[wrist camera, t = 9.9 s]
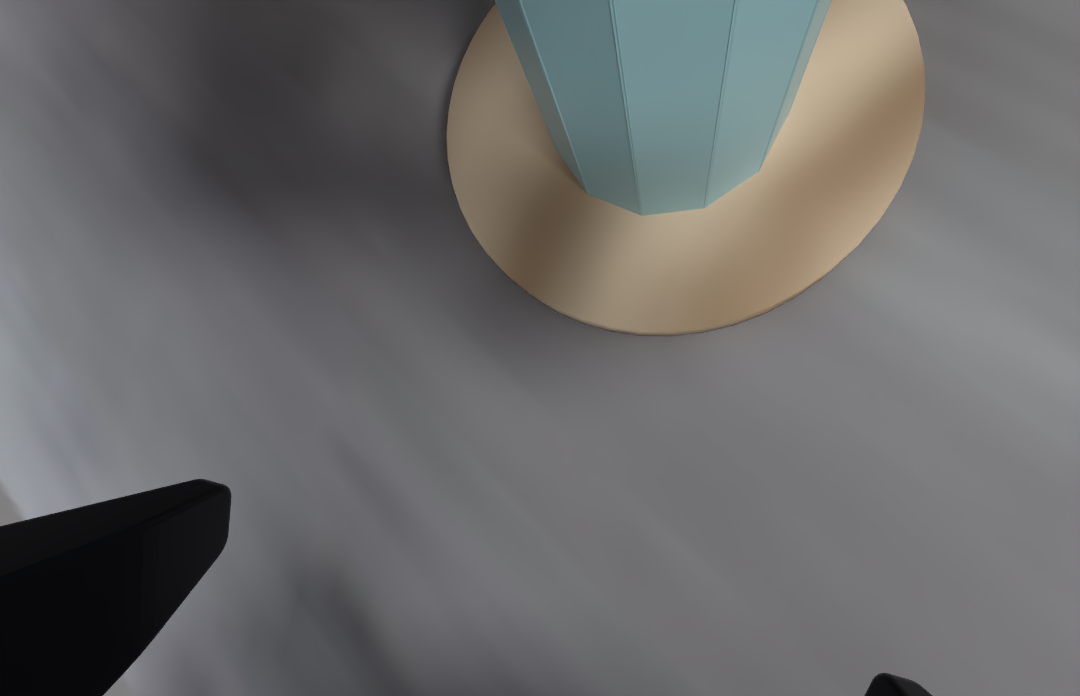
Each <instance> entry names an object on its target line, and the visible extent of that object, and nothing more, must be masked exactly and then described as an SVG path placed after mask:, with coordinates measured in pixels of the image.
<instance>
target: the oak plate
mask: <svg viewBox="0 0 1080 696" xmlns="http://www.w3.org/2000/svg"><path fill="white" fill-rule="evenodd" d="M924 103H925V75H924V62H923V57H922V52H921V48H920V43H919V38H918V34H917V31H916V29H915V26H914V24H913V21H912V19H911V16H910V14H909V11H908V9H907V6H906V4H905V3H904V1H903V0H831V3H830V6H829V8H828V11H827V14H826V16H825V19H824V22H823V24H822V27H821V30H820V32H819V35H818V38H817V40H816V43H815V46H814V48H813V51H812V54H811V56H810V59H809V62H808V64H807V67H806V70H805V72H804V75H803V78H802V80H801V83H800V86H799V88H798V91H797V94H796V96H795V99H794V102H793V104H792V107H791V110H790V112H789V115H788V117H787V118H786V120H785V122H784V124H783V126H782V128H781V130H780V132H779V134H778V136H777V138H776V140H775V142H774V144H773V146H772V148H771V149H770V151H769V153H768V155H767V157H766V159H765V161H764V163H763V165H762V167H761V170H760V171H759V172H758V173H756V174H755V175H753V176H752V177H750V178H749V179H747V180H746V181H744V182H743V183H741V184H740V185H738V186H737V187H735V188H734V189H732V190H731V191H730V192H728V193H727V194H725V195H724V196H722V197H721V198H719V199H718V200H716V201H715V202H713V203H712V204H710V205H709V206H707V207H706V208H702V209H694V210H686V211H678V212H670V213H662V214H653V215H645V216H640V215H638V214H636V213H633V212H631V211H628V210H626V209H623V208H621V207H618V206H616V205H613V204H611V203H608V202H606V201H603V200H601V199H598V198H596V197H593V196H591V195H588V194H587V192H586V191H585V189H584V188H583V186H582V185H581V184H580V182H579V181H578V180H577V178H576V177H575V175H574V174H573V173H572V171H571V170H570V168H569V167H568V166H567V164H566V163H565V161H564V160H563V159H562V157H561V156H560V154H559V153H558V152H557V150H556V148H555V145H554V143H553V140H552V138H551V136H550V133H549V131H548V128H547V126H546V123H545V121H544V119H543V116H542V114H541V111H540V109H539V107H538V104H537V102H536V99H535V97H534V94H533V92H532V90H531V87H530V85H529V82H528V80H527V78H526V75H525V73H524V70H523V68H522V65H521V63H520V61H519V58H518V56H517V53H516V51H515V49H514V46H513V44H512V41H511V39H510V36H509V34H508V32H507V29H506V27H505V24H504V22H503V20H502V17H501V15H500V12H499V10H498V7H497V5H496V3H495V5H494V6H493V7H492V8H491V10H490V11H489V12H488V14H487V15H486V17H485V19H484V20H483V22H482V23H481V25H480V27H479V28H478V30H477V31H476V33H475V35H474V36H473V38H472V41H471V43H470V45H469V47H468V49H467V51H466V53H465V55H464V57H463V59H462V62H461V65H460V68H459V71H458V74H457V77H456V80H455V83H454V87H453V91H452V96H451V101H450V106H449V112H448V124H447V153H448V164H449V169H450V174H451V180H452V185H453V188H454V191H455V194H456V197H457V200H458V203H459V206H460V209H461V211H462V213H463V215H464V217H465V219H466V221H467V223H468V225H469V227H470V229H471V231H472V233H473V234H474V236H475V237H476V239H477V240H478V241H479V243H480V244H481V246H482V247H483V249H484V250H485V252H486V253H487V254H488V255H489V256H490V257H491V258H492V260H493V261H494V262H495V263H496V264H497V265H498V266H499V267H500V268H501V269H502V270H503V271H504V272H505V273H506V274H507V275H508V276H509V277H510V278H511V279H512V280H513V281H514V282H515V283H516V284H518V285H519V286H520V287H521V288H523V289H524V290H525V291H526V292H528V293H529V294H530V295H531V296H533V297H534V298H535V299H536V300H538V301H540V302H541V303H543V304H545V305H546V306H548V307H550V308H551V309H553V310H555V311H556V312H558V313H560V314H563V315H565V316H567V317H570V318H572V319H574V320H577V321H579V322H581V323H584V324H587V325H591V326H594V327H598V328H601V329H605V330H608V331H612V332H619V333H626V334H633V335H640V336H677V335H686V334H695V333H703V332H708V331H712V330H716V329H720V328H724V327H728V326H733V325H736V324H739V323H741V322H744V321H747V320H749V319H752V318H755V317H757V316H760V315H763V314H765V313H767V312H769V311H771V310H773V309H775V308H777V307H778V306H780V305H782V304H784V303H786V302H788V301H790V300H792V299H794V298H795V297H797V296H798V295H799V294H801V293H802V292H804V291H805V290H807V289H808V288H810V287H811V286H812V285H814V284H815V283H817V282H818V281H820V280H821V279H822V278H823V277H824V276H825V275H826V274H828V273H829V272H830V271H831V270H832V269H833V268H834V267H835V266H836V265H838V264H839V263H840V262H841V261H842V260H843V259H844V258H845V257H846V256H847V255H848V254H849V253H850V252H851V251H852V250H853V249H854V248H855V247H856V246H858V245H859V243H860V242H861V241H862V240H863V239H864V237H865V236H866V235H867V234H868V233H869V231H870V230H871V229H872V228H873V227H874V226H875V224H876V223H877V222H878V221H879V220H880V218H881V217H882V215H883V214H884V212H885V211H886V209H887V208H888V206H889V204H890V203H891V201H892V200H893V198H894V196H895V195H896V193H897V192H898V190H899V188H900V186H901V184H902V182H903V179H904V177H905V175H906V173H907V170H908V168H909V166H910V164H911V162H912V159H913V156H914V153H915V149H916V146H917V142H918V138H919V135H920V131H921V127H922V120H923V111H924Z"/></svg>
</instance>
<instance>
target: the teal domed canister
mask: <svg viewBox="0 0 1080 696" xmlns="http://www.w3.org/2000/svg"><path fill="white" fill-rule="evenodd" d="M495 3H496V5H497V7H498V10H499V12H500V15H501V17H502V20H503V22H504V24H505V27H506V29H507V32H508V34H509V36H510V39H511V41H512V44H513V46H514V49H515V51H516V53H517V56H518V58H519V61H520V63H521V65H522V68H523V70H524V73H525V75H526V78H527V80H528V82H529V85H530V87H531V90H532V92H533V94H534V97H535V99H536V102H537V104H538V107H539V109H540V111H541V114H542V116H543V119H544V121H545V123H546V126H547V128H548V131H549V133H550V136H551V138H552V140H553V143H554V145H555V148H556V150H557V152H558V153H559V154H560V156H561V157H562V159H563V160H564V161H565V163H566V164H567V166H568V167H569V168H570V170H571V171H572V173H573V174H574V175H575V177H576V178H577V180H578V181H579V182H580V184H581V185H582V186H583V188H584V189H585V191H586V192H587V194H588V195H591V196H593V197H596V198H598V199H601V200H603V201H606V202H608V203H611V204H613V205H616V206H618V207H621V208H623V209H626V210H628V211H631V212H633V213H636V214H638V215H640V216H645V215H653V214H662V213H670V212H678V211H686V210H694V209H702V208H706V207H707V206H709V205H710V204H712V203H713V202H715V201H716V200H718V199H719V198H721V197H722V196H724V195H725V194H727V193H728V192H730V191H731V190H732V189H734V188H735V187H737V186H738V185H740V184H741V183H743V182H744V181H746V180H747V179H749V178H750V177H752V176H753V175H755V174H756V173H758V172H759V171H760V170H761V167H762V165H763V163H764V161H765V159H766V157H767V155H768V153H769V151H770V149H771V148H772V146H773V144H774V142H775V140H776V138H777V136H778V134H779V132H780V130H781V128H782V126H783V124H784V122H785V120H786V118H787V117H788V115H789V112H790V110H791V107H792V104H793V102H794V99H795V96H796V94H797V91H798V88H799V86H800V83H801V80H802V78H803V75H804V72H805V70H806V67H807V64H808V62H809V59H810V56H811V54H812V51H813V48H814V46H815V43H816V40H817V38H818V35H819V32H820V30H821V27H822V24H823V22H824V19H825V16H826V14H827V11H828V8H829V6H830V3H831V0H495Z"/></svg>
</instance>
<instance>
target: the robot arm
mask: <svg viewBox="0 0 1080 696" xmlns="http://www.w3.org/2000/svg"><path fill="white" fill-rule="evenodd" d="M230 507H231V491H230V489H229V488H228V487H227V486H226V485H223V484H219V483H216V482H212V481H209V480H205V479H196V480H191V481H187V482H183V483H179V484H175V485H170V486H166V487H162V488H158V489H154V490H150V491H146V492H141V493H137V494H133V495H129V496H125V497H121V498H116V499H112V500H108V501H104V502H100V503H96V504H91V505H87V506H83V507H79V508H75V509H71V510H66V511H62V512H58V513H54V514H50V515H46V516H41V517H37V518H33V519H29V520H25V521H21V522H16V523H12V524H8V525H4V526H0V696H103V695H104V694H105V693H106V692H107V691H108V689H109V688H110V687H111V686H112V685H113V684H114V683H115V682H116V681H117V680H118V679H119V678H120V677H121V676H122V675H123V674H124V672H125V671H126V670H127V669H128V668H129V667H130V666H131V665H132V664H133V662H134V661H135V660H136V659H137V658H138V657H139V656H140V655H141V653H142V652H143V651H144V650H145V649H146V647H147V646H148V645H149V644H150V643H151V641H152V640H153V639H154V638H155V636H156V635H157V634H158V633H159V631H160V630H161V629H162V628H163V626H164V625H165V624H166V622H167V621H168V620H169V619H170V617H171V616H172V615H173V614H174V612H175V611H176V610H177V608H178V607H179V606H180V605H181V603H182V602H183V601H184V600H185V598H186V597H187V596H188V595H189V593H190V592H191V591H192V589H193V588H194V587H195V586H196V584H197V583H198V582H199V581H200V579H201V578H202V577H203V575H204V574H205V573H206V572H207V570H208V569H209V568H210V567H211V565H212V564H213V563H214V561H215V560H216V559H217V558H218V556H219V555H220V554H221V552H222V550H223V549H224V546H225V544H226V542H227V538H228V531H229V519H230ZM865 696H932V695H931V694H930V693H929V692H927V691H926V690H925V689H924V688H923V687H921V686H920V685H919V684H918V683H916V682H914V681H912V680H909V679H906V678H902V677H899V676H895V675H891V674H888V673H880V674H878V675H877V676H875V677H874V679H873V680H872V682H871V684H870V686H869V688H868V690H867V692H866V694H865Z"/></svg>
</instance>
